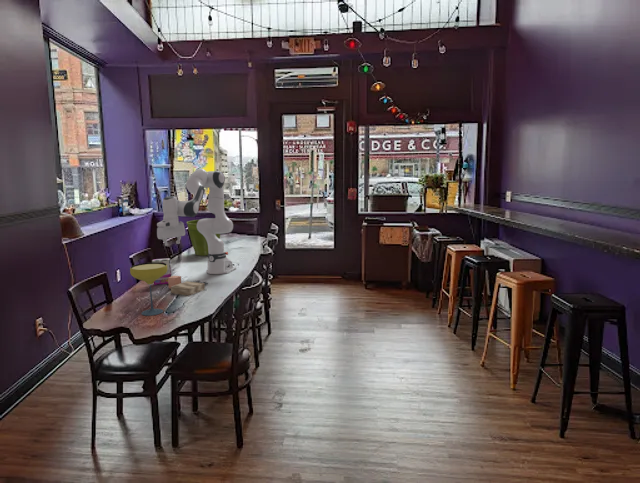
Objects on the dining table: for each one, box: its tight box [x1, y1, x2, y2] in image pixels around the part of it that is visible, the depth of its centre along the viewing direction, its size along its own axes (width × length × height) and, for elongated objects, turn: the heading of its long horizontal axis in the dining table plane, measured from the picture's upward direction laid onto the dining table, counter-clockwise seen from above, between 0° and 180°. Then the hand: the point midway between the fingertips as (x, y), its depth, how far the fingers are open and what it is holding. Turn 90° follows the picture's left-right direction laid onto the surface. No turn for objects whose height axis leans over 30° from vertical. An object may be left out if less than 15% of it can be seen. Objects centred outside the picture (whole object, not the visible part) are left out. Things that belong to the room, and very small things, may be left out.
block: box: [167, 275, 182, 289], centre depth 284 cm, size 6×6×7 cm
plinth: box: [170, 280, 206, 297], centre depth 275 cm, size 14×14×4 cm
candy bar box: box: [151, 257, 173, 286], centre depth 293 cm, size 11×5×16 cm, turn 105°
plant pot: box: [186, 219, 221, 257], centre depth 390 cm, size 30×30×29 cm
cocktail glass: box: [129, 261, 167, 317], centre depth 234 cm, size 18×18×25 cm
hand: (172, 244), depth 281 cm, fingers open, 8 cm apart
